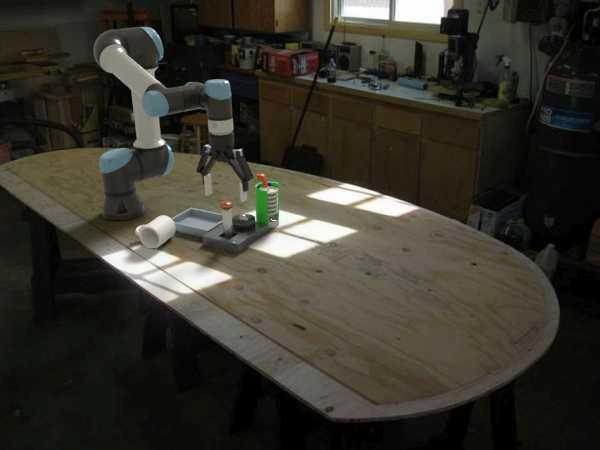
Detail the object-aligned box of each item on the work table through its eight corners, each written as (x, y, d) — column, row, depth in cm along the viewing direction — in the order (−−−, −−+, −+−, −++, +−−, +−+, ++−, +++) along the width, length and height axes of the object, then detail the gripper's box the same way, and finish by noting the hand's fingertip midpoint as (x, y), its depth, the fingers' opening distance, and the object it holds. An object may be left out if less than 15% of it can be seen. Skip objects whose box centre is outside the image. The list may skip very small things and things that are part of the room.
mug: (177, 238, 203) (174, 216, 200) (161, 250, 194) (159, 228, 191) (146, 233, 207) (143, 212, 203) (129, 246, 198) (126, 223, 195)
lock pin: (220, 244, 198) (217, 204, 192) (227, 239, 201) (224, 200, 195) (230, 246, 196) (227, 206, 190) (237, 242, 199) (234, 202, 194)
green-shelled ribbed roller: (275, 229, 208) (274, 180, 201) (253, 228, 210) (250, 179, 202) (281, 219, 216) (280, 171, 209) (260, 217, 218) (257, 170, 210)
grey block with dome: (203, 244, 198) (201, 225, 195) (234, 224, 212) (233, 207, 210) (238, 252, 192) (237, 234, 189) (268, 231, 206) (267, 214, 204)
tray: (166, 229, 210) (165, 221, 209) (191, 214, 221) (191, 207, 220) (208, 239, 202) (207, 230, 201) (232, 223, 213) (231, 216, 212)
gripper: (181, 130, 186) (187, 195, 194) (248, 139, 175) (252, 207, 183) (196, 125, 192) (202, 188, 200) (262, 133, 181) (265, 199, 189)
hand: (226, 197), depth 192 cm, fingers open, 13 cm apart
